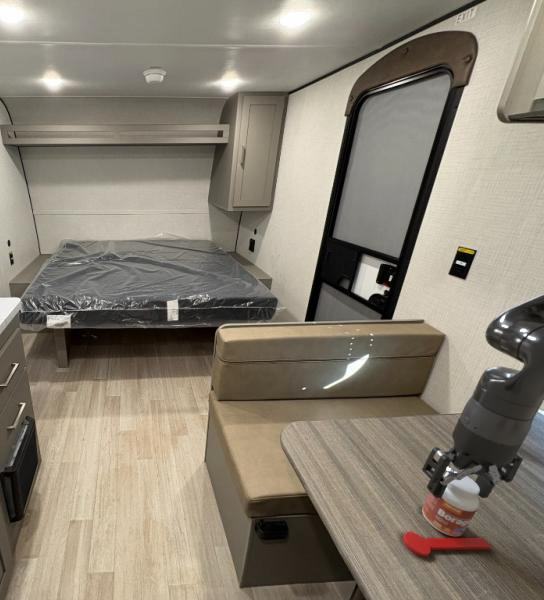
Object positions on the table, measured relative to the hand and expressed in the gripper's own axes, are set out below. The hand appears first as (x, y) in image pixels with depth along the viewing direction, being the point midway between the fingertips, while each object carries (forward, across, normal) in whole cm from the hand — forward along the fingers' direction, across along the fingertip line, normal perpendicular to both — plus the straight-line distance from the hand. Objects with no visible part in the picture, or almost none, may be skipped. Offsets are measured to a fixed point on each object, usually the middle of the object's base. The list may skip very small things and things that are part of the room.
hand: (456, 493), depth 60 cm
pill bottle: (+8, 0, 0) cm, 8 cm away
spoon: (+8, -3, -4) cm, 9 cm away
